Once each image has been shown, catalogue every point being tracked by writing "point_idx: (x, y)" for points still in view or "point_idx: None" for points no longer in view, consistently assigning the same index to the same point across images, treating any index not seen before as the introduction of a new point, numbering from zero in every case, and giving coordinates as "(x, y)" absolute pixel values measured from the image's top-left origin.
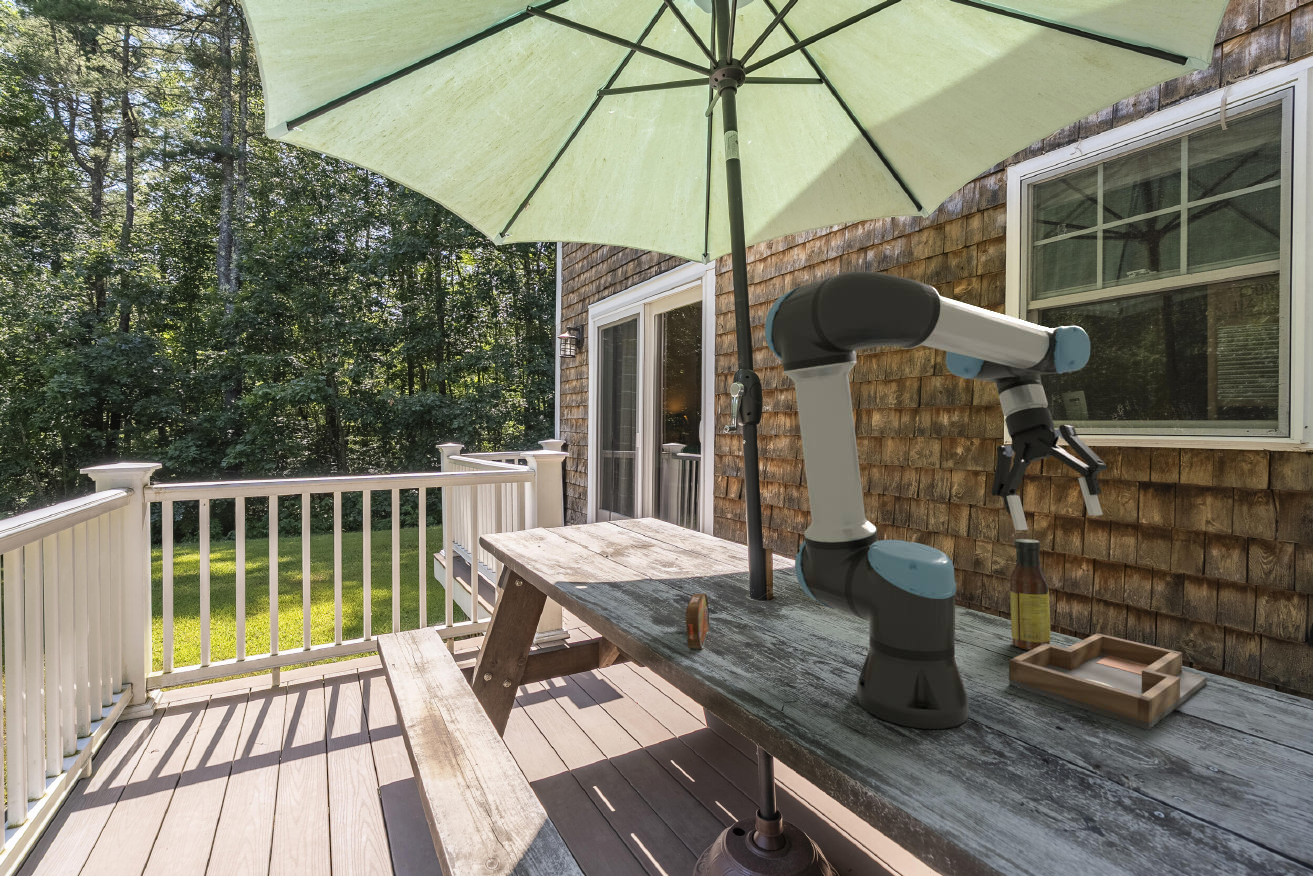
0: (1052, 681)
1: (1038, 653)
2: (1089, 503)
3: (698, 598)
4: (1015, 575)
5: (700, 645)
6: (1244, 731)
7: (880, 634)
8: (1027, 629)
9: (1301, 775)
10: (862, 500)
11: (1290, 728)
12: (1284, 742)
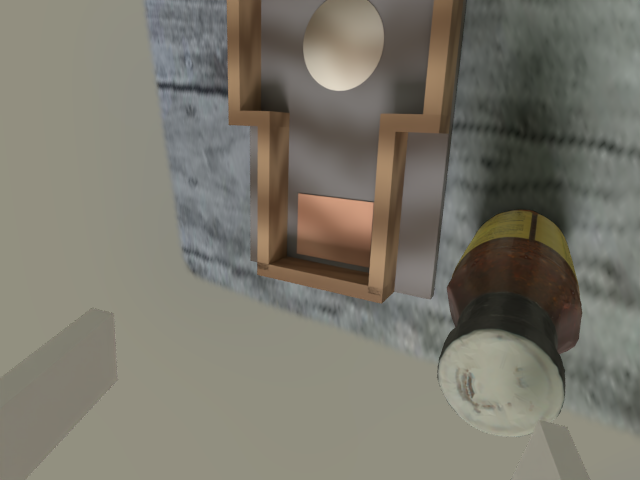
0: None
1: (430, 43)
2: (49, 345)
3: None
4: (545, 269)
5: None
6: (196, 93)
7: None
8: (510, 216)
9: (144, 2)
10: None
11: (174, 152)
12: (169, 95)
